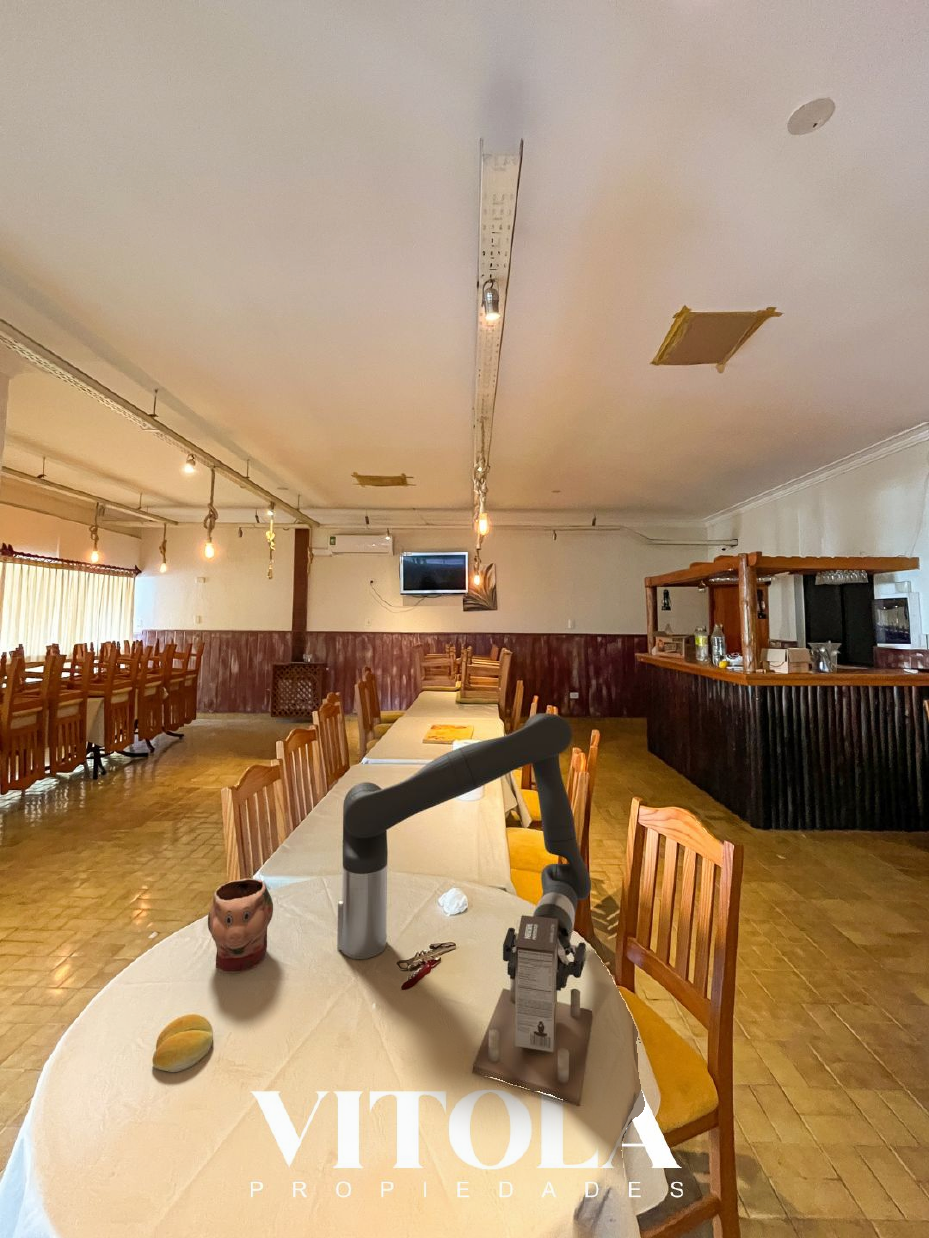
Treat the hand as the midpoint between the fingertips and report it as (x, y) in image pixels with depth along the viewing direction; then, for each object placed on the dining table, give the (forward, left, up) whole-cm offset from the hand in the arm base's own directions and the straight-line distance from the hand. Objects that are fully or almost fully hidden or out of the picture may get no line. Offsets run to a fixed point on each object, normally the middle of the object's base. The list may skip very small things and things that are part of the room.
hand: (534, 979), depth 86 cm
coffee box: (0, +2, -10) cm, 10 cm away
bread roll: (-52, -18, -12) cm, 57 cm away
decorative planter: (-61, +4, -12) cm, 62 cm away
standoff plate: (0, +2, -12) cm, 12 cm away
